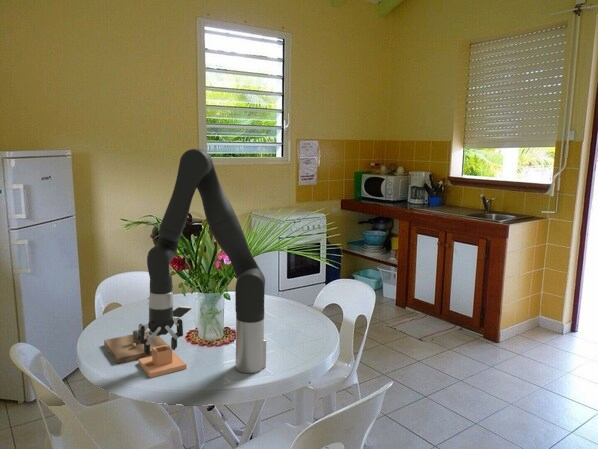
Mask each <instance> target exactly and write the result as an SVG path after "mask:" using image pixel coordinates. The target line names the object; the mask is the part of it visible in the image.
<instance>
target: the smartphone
mask: <svg viewBox="0 0 598 449" xmlns="http://www.w3.org/2000/svg"><path fill="white" fill-rule="evenodd" d="M194 309H195V307H194V306H187V305H186V306H184V305H178V307H176V308H175V309H173V320H175V319H177V318H180V319H181V320H182V319H183V318H184V317H185V316H186V315H188V314H190V312H192V310H194Z"/></svg>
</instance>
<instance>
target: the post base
mask: <svg viewBox="0 0 598 449" xmlns="http://www.w3.org/2000/svg"><path fill="white" fill-rule="evenodd" d="M138 331H139V329H135V330H133V331H132V334H129V335H122V336H118V337H113V338H108V339H104V340H103V343H104V344H103V345H104V347H105V348H106V350H107V351H108V353H109V354H110V356H111V357H112V358H113V360H114V361H115V362H117V363H116V364H117V365H121V364H125V363H128V362H133V361H139V359H141V358H146V357H150V356H152V348H154V347H158V346H163V345H168V346H169V347H170V348H171V345H169V344H168V343H167V342H166V341H165V340H164V339H163V338H162V337H160V336H161V335H160V336H155V338H154V339H153V340H152V341H151V342H150V355H147V354H146V353H145V352H144V344H140V342H139V341H138ZM149 331H150V330H148V331H145V334H144V339H145V338H146V336H147V333H148V332H149ZM120 363H121V364H120Z"/></svg>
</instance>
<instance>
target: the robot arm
mask: <svg viewBox="0 0 598 449" xmlns="http://www.w3.org/2000/svg"><path fill="white" fill-rule="evenodd" d="M216 171H217V170H216V168H215V166H214V162H213V158H212V157H211V155H210V154H209V152H208V151H206V150H204V149H201V148H191V149H188V150H186V151H185V152H184V153H183V154H182V155H181V156H180V159H179V164H178V170H177V174H176V175H177V176H176V180H175V184H174V187H173V191H172V194H171V197H170V199H169V202H168V205H167V207H166V210H165V212H164V215H163V217H162V221H161V223H160V225H159V229H158V238H157V239H156V243H155V245H154V246H153V247H152V248H150V249H149V251H148V252H147V256H146V264H147V265H146V266H147V272H148V277H149V294H148V295H149V296H148V323H147V324H146V323H145V324H143V323H139V325H138V330H139V331H138V341H139V342H140V344H144V352H145V353H146V354H147V355H150V342H151V341H152V340H153V339H154V338H155V336H165V335H168V334H169V335H170V336H171V340H170V343H171V344H170V348H171V349H172V351H176V349H177V348H178V339H179V338H181V337H183V336H184V329H183V328H184V327H183V326H184V325H183V319H182V318H181V319H180V318H177V319H173V310H174V295H173V277H172V275H171V273H170V263H171V262H172V261H173V259H174V257H175V255H176V253H177V250H178V245H179V241H180V238H181V236H182V234H183V231H184V228H185V226H186V223H187V220H188V217H189V213H190V209H191V204H192V200H193V197H194V195H195V192H196V191H198V193H199V195H200V198H201V202H202V206H203V212H204V215H205V219H206V222H207V225H208V226H209V229H210V231H211V233H212V235H213V237H214V239H215V241H216V243H217V244H218V246H219V247H220V248H221V250H222V251H223V252H224V254H225V255H226V256H227V258H228V259H229V261H230V263H231V265H232V269H233V272H234V274H235V278H236V282H235V290H234V291H235V293H234V294H235V296H234V297H235V309H234V310H235V370H237V371H238V372H240V373H243V374H253V373H258V372H261V371H262V370H263V369H264V368H266V367H267V340H266V339H265V286H266V277H265V275H264V273H263V272H262V270H261V269H260V266H259V265H258V262H257V261H256V259H255V258H254V256H253V253H251V250H250V248H249V244H248V242H247V239H246V236H245V233H244V231H243V228H242V226H241V224H240V223H241V222H240V221H239V219H238V217H237V214H236V212H235V210H234V208H233V206H232V204H231V202H230V200H229V198H228V196H227V195H226V193H225V191H224V189H223V187H222V185H221V183H220V180H219V178H218V175H217V172H216ZM174 325H175V326H176V332H174V331H173V330H172V328H173V326H174ZM147 329H149V330H148V331H149V332H148V331H147ZM145 332H148V333H147V336H146V338H145V339H144V334H145Z"/></svg>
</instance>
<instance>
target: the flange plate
mask: <svg viewBox="0 0 598 449" xmlns="http://www.w3.org/2000/svg"><path fill="white" fill-rule="evenodd" d="M168 345H169V344H168ZM168 345H163V346H158V347H154V348H152V356H150V357H146V358H141V359H138V365H139V366H140V367H141V368H142V370H143V371H144V372H145V374H146V375H148V377H149V379H151V378H152V379H153V378H155V377H159V376H162V375H167V374H171V373H175V372H178V371H182V370H186V369H187V368H188V366H187V363H186V362H185V361H184V360H183V359H182V358H181V357H180V356H179V355H178V354H177V353H176V352H175V350H172V348H171V346H170V345H169V346H170V347H169V346H168Z"/></svg>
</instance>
